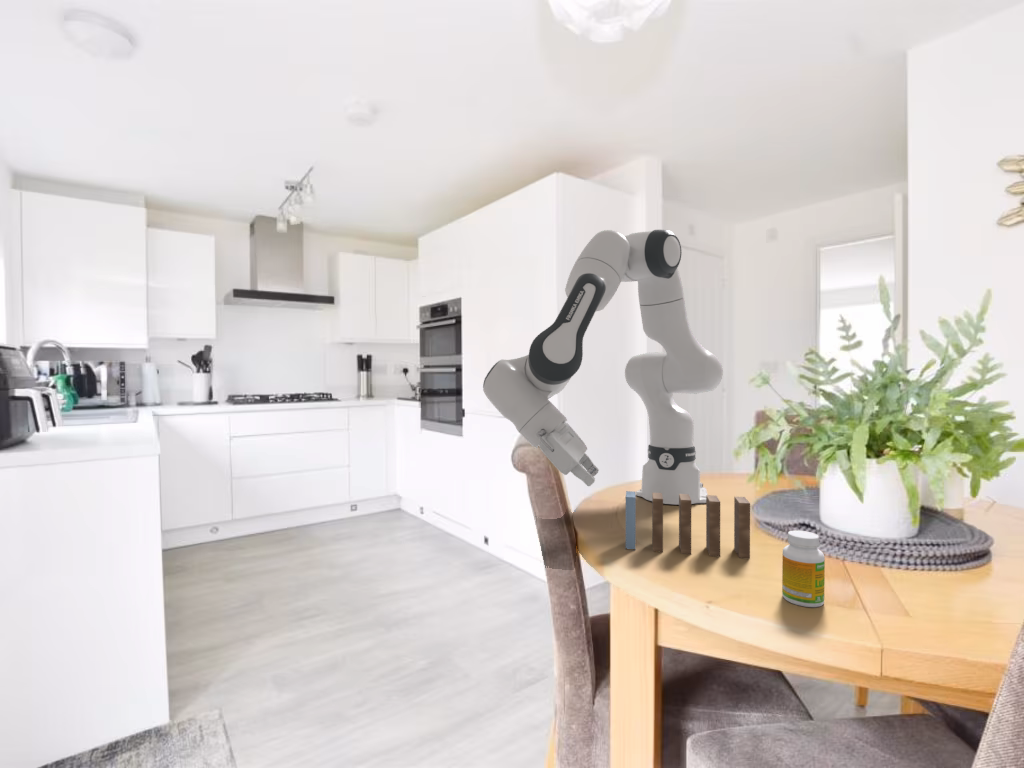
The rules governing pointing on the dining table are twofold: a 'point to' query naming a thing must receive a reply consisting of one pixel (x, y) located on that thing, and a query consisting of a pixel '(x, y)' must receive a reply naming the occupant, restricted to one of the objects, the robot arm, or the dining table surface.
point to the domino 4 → (713, 525)
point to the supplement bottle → (803, 570)
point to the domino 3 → (685, 523)
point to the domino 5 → (742, 527)
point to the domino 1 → (630, 519)
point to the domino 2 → (657, 522)
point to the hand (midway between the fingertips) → (594, 478)
